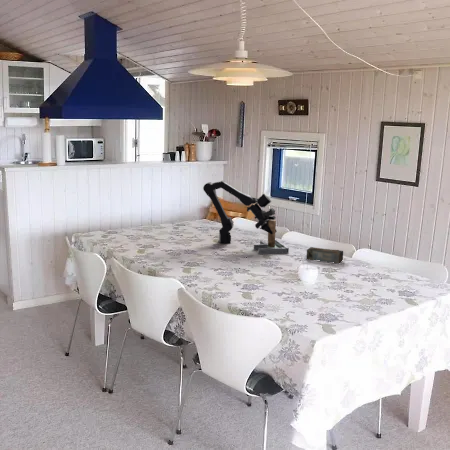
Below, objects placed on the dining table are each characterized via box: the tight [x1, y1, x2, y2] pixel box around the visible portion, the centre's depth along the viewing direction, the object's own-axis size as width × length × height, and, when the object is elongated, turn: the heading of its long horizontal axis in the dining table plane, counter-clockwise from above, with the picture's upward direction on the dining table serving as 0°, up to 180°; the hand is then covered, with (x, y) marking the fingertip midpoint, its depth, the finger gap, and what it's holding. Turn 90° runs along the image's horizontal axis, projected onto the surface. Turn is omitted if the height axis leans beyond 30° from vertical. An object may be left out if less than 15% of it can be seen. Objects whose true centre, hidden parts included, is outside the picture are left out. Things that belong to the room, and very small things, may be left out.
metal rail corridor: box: [253, 239, 290, 255], centre depth 321 cm, size 18×21×3 cm
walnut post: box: [267, 219, 277, 247], centre depth 325 cm, size 4×4×16 cm
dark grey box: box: [305, 246, 344, 264], centre depth 300 cm, size 8×19×7 cm, turn 65°
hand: (274, 232), depth 324 cm, fingers open, 5 cm apart
